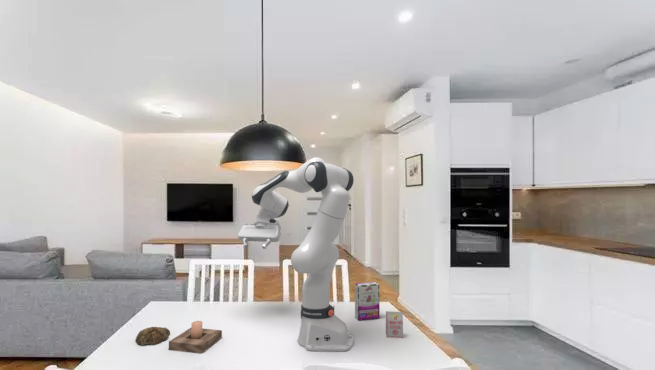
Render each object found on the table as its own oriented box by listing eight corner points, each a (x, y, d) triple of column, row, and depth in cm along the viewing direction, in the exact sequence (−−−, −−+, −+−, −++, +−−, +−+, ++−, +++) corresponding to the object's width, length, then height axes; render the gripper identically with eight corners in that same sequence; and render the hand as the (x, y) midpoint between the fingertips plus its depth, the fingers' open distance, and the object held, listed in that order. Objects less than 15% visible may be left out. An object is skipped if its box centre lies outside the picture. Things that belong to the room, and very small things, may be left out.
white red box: (385, 333, 142) (385, 309, 142) (401, 334, 142) (401, 310, 142) (386, 337, 138) (386, 312, 139) (403, 338, 138) (403, 313, 138)
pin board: (221, 337, 137) (221, 330, 137) (202, 353, 123) (202, 345, 123) (191, 334, 139) (191, 327, 140) (168, 349, 126) (168, 341, 126)
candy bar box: (375, 315, 164) (375, 281, 165) (379, 318, 159) (379, 284, 160) (354, 317, 161) (354, 282, 162) (358, 321, 156) (358, 285, 157)
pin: (204, 341, 133) (204, 321, 133) (198, 346, 129) (198, 325, 129) (195, 340, 134) (195, 320, 134) (188, 345, 130) (189, 324, 130)
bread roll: (138, 335, 139) (138, 323, 139) (171, 331, 143) (171, 320, 143) (132, 349, 127) (132, 335, 127) (168, 344, 131) (168, 331, 131)
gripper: (241, 219, 164) (231, 242, 154) (281, 220, 159) (273, 244, 149) (245, 228, 168) (235, 250, 158) (284, 229, 163) (276, 252, 154)
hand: (254, 247), depth 154 cm, fingers open, 8 cm apart
